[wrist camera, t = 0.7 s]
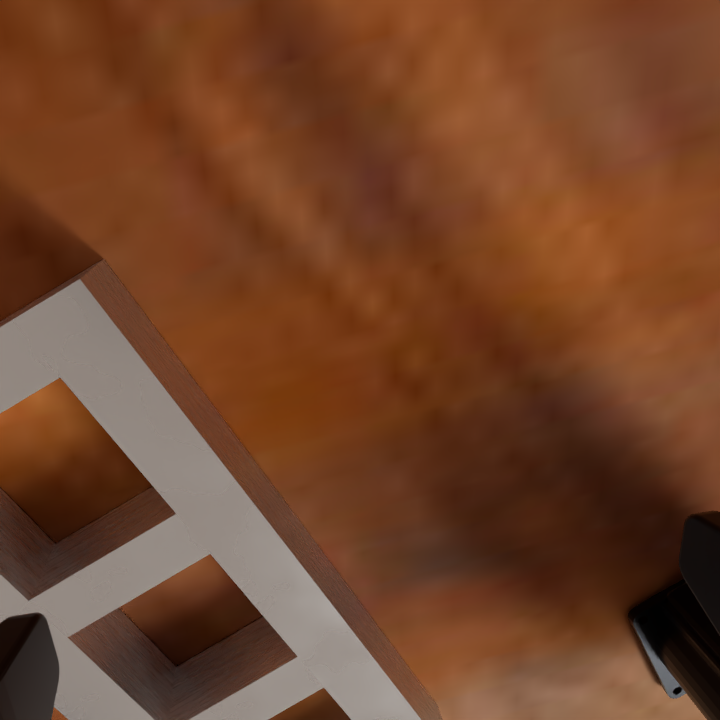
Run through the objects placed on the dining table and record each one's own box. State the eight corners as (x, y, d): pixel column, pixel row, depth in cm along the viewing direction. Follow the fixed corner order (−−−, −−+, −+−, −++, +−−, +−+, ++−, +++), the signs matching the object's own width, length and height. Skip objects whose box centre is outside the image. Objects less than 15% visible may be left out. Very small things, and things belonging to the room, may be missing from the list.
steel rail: (438, 707, 29) (458, 768, 26) (255, 811, 29) (256, 882, 26) (103, 258, 20) (79, 278, 17) (-160, 418, 20) (-226, 463, 17)
